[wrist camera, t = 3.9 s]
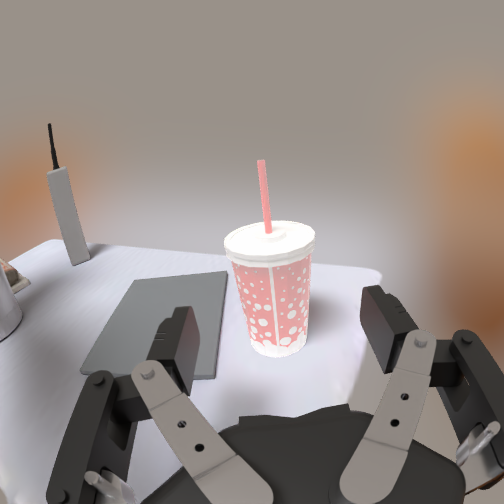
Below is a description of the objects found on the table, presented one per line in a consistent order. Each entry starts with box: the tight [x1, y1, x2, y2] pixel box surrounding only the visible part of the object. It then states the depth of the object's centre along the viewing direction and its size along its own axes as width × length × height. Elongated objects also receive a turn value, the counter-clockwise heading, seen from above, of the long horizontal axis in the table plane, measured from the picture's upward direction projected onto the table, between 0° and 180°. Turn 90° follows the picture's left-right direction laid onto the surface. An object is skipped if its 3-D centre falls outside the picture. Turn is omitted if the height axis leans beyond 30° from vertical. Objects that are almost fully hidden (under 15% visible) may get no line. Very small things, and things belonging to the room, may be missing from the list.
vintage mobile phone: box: [47, 123, 90, 266], centre depth 40 cm, size 4×5×25 cm
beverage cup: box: [224, 160, 315, 358], centre depth 20 cm, size 6×6×14 cm
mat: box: [80, 271, 227, 379], centre depth 27 cm, size 12×16×1 cm
